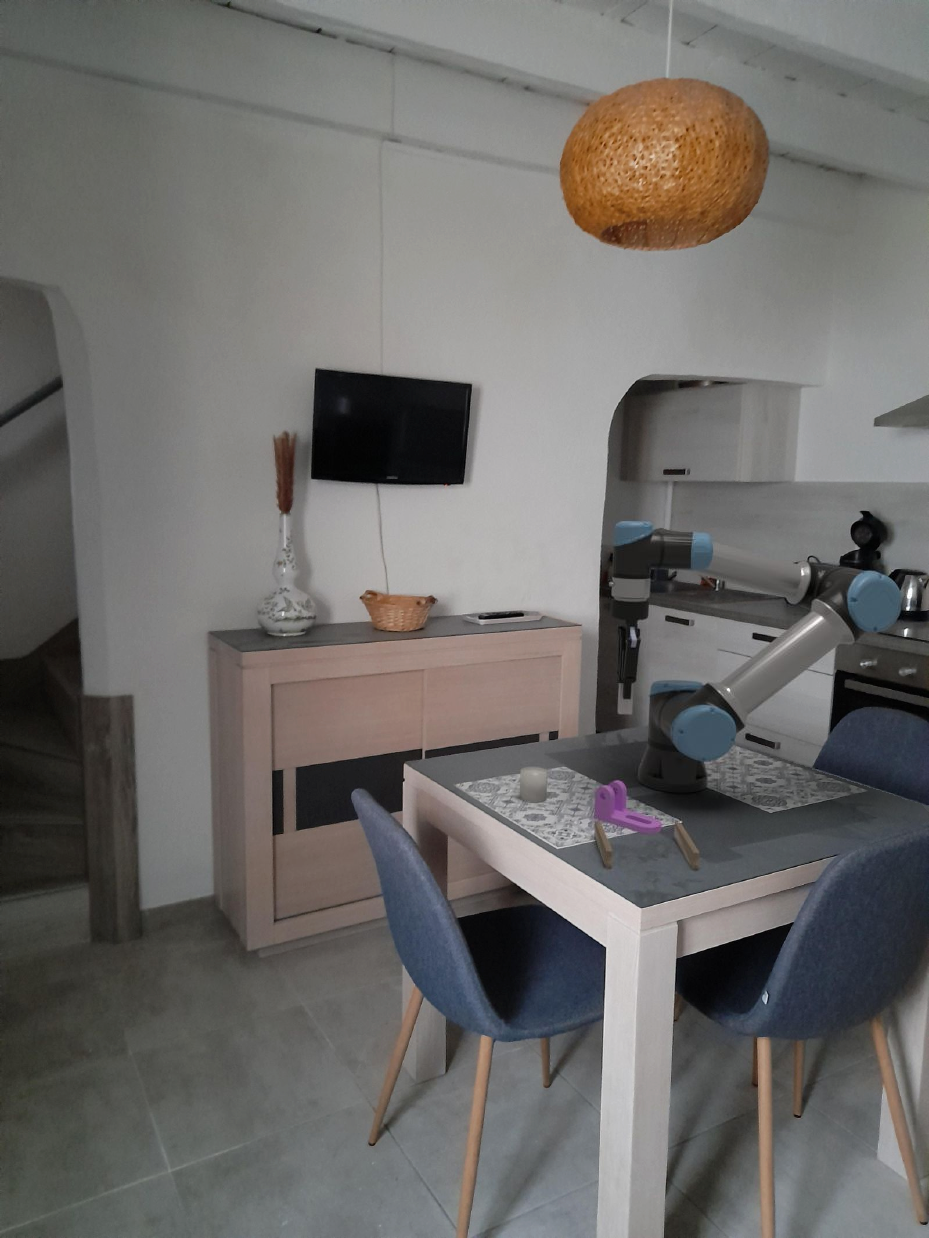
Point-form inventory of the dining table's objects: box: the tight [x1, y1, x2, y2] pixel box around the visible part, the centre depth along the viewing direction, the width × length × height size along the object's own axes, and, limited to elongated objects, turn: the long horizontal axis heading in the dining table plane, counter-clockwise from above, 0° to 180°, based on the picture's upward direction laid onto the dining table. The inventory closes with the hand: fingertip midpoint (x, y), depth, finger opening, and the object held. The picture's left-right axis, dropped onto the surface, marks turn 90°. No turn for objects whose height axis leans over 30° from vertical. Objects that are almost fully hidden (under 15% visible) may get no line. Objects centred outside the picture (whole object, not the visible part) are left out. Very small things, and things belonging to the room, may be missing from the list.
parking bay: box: [593, 820, 701, 870], centre depth 159 cm, size 16×14×3 cm
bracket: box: [593, 780, 662, 835], centre depth 172 cm, size 13×6×7 cm, turn 47°
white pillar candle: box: [519, 766, 548, 804], centre depth 185 cm, size 6×6×6 cm
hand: (624, 713), depth 180 cm, fingers closed
